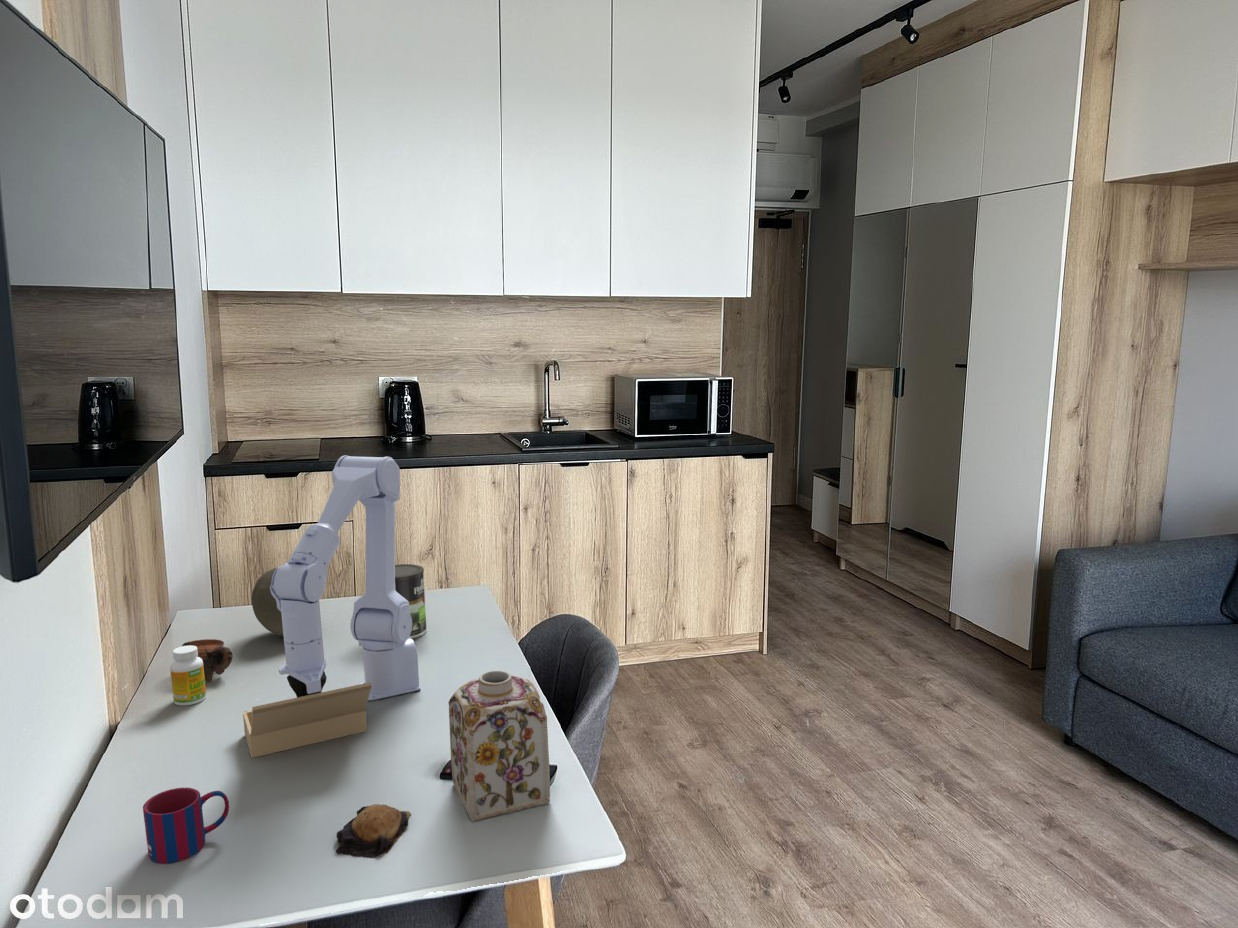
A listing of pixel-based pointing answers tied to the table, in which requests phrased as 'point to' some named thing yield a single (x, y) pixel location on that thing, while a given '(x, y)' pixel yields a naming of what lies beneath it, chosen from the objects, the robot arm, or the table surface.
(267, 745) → the carton
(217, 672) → the pottery mug
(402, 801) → the table surface
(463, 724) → the decorative jar
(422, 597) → the coffee can
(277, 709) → the lid flap
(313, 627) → the robot arm
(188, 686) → the supplement bottle
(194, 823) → the cup
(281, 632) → the cantaloupe
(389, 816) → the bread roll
